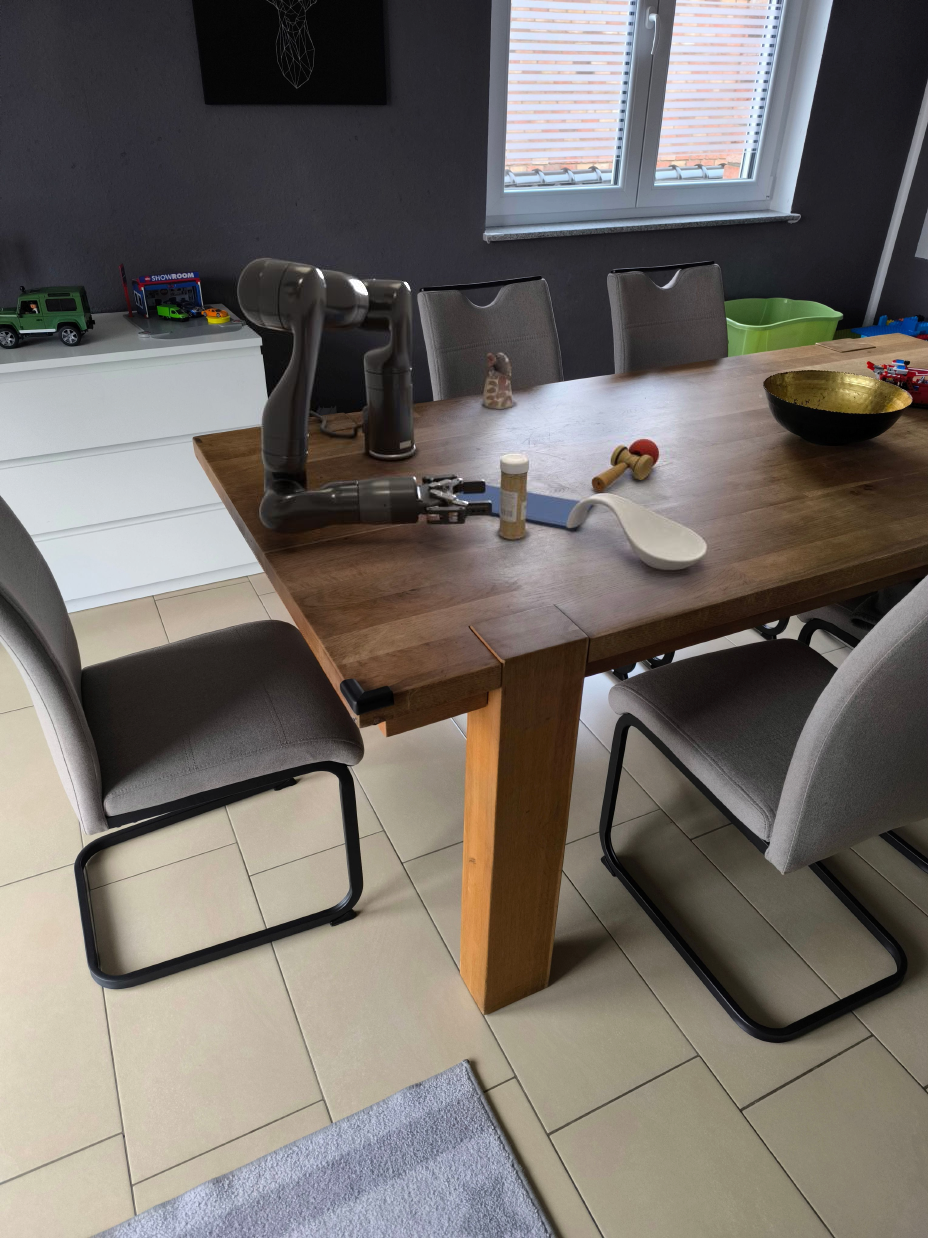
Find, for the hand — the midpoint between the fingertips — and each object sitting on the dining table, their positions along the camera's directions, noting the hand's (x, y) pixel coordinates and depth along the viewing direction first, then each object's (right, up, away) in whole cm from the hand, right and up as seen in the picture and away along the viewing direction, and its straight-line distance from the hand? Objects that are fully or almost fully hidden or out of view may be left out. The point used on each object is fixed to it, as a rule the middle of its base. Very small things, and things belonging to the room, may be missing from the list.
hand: (488, 496), depth 135 cm
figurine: (+4, +31, +63) cm, 70 cm away
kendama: (+27, +7, +24) cm, 37 cm away
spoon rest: (+23, -9, -1) cm, 25 cm away
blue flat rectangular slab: (+6, 0, +14) cm, 15 cm away
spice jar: (+4, -6, +4) cm, 8 cm away
